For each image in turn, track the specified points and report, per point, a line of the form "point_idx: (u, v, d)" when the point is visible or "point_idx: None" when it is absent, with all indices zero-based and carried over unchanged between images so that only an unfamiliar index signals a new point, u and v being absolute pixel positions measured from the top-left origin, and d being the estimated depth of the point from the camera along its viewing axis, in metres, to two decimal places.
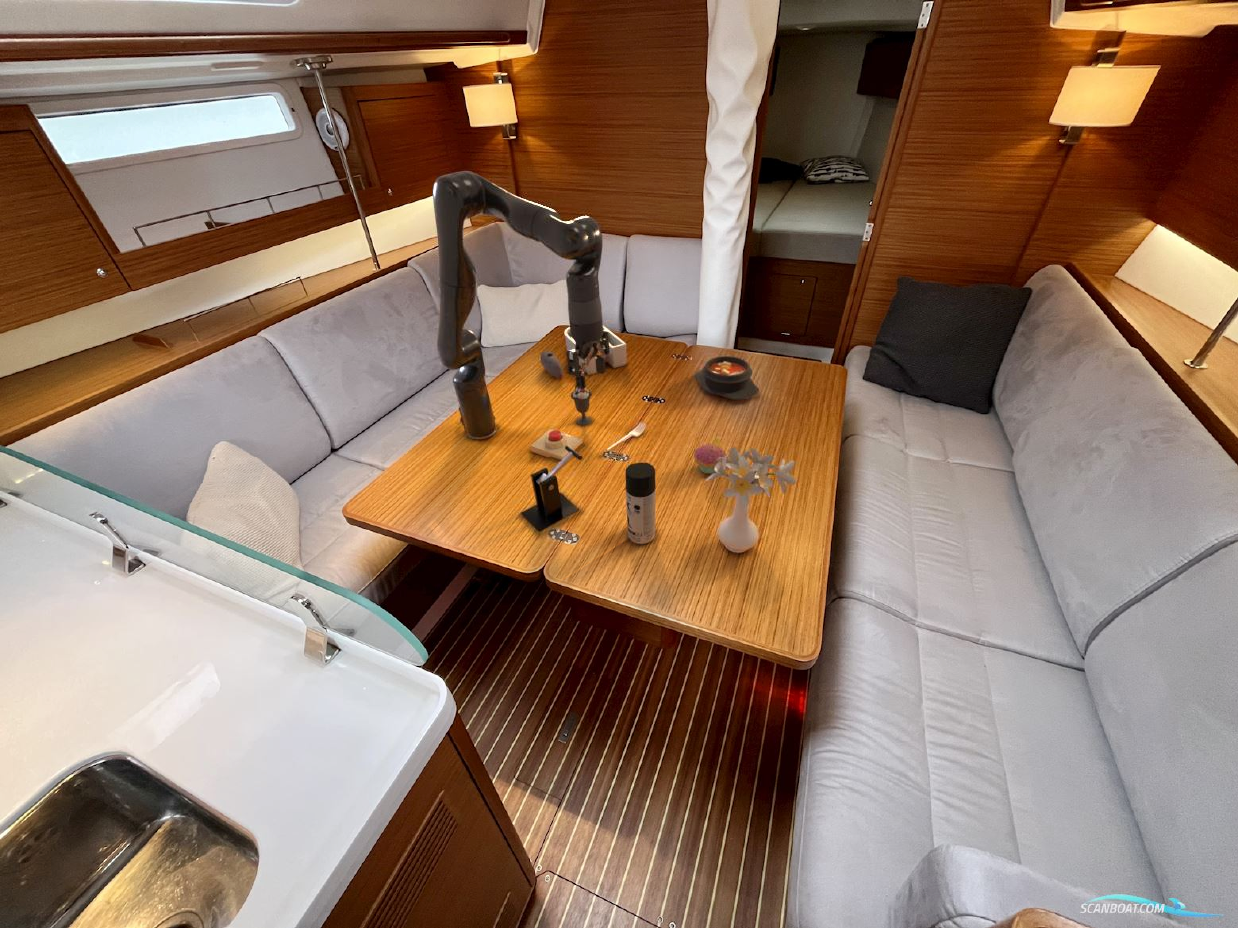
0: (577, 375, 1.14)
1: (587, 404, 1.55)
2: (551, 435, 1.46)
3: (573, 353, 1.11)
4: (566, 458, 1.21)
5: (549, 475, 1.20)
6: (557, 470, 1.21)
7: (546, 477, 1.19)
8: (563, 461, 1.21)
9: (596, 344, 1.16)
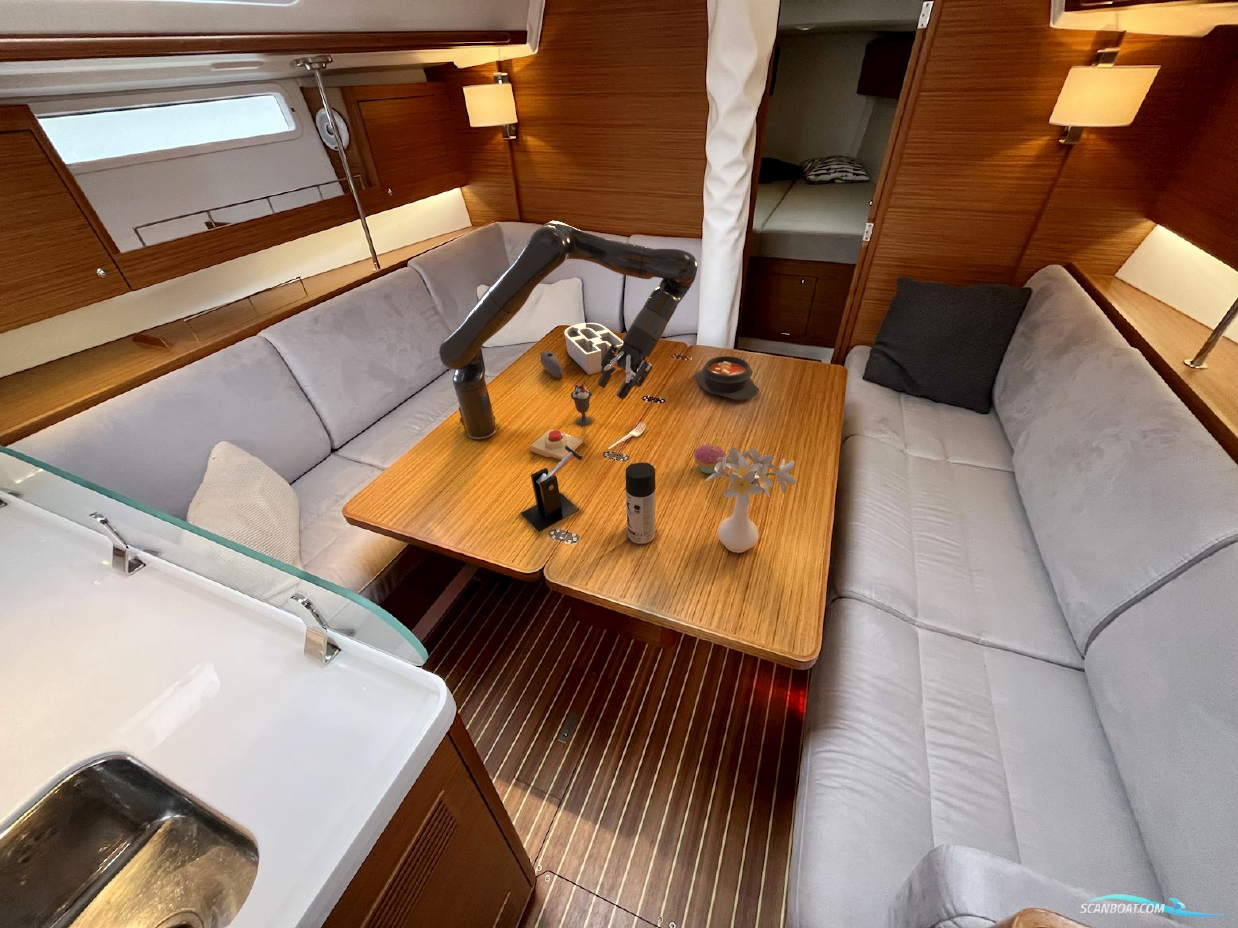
0: None
1: (587, 404, 1.55)
2: (551, 435, 1.46)
3: (651, 365, 1.15)
4: (566, 458, 1.21)
5: (549, 475, 1.20)
6: (557, 470, 1.21)
7: (546, 477, 1.19)
8: (563, 461, 1.21)
9: None
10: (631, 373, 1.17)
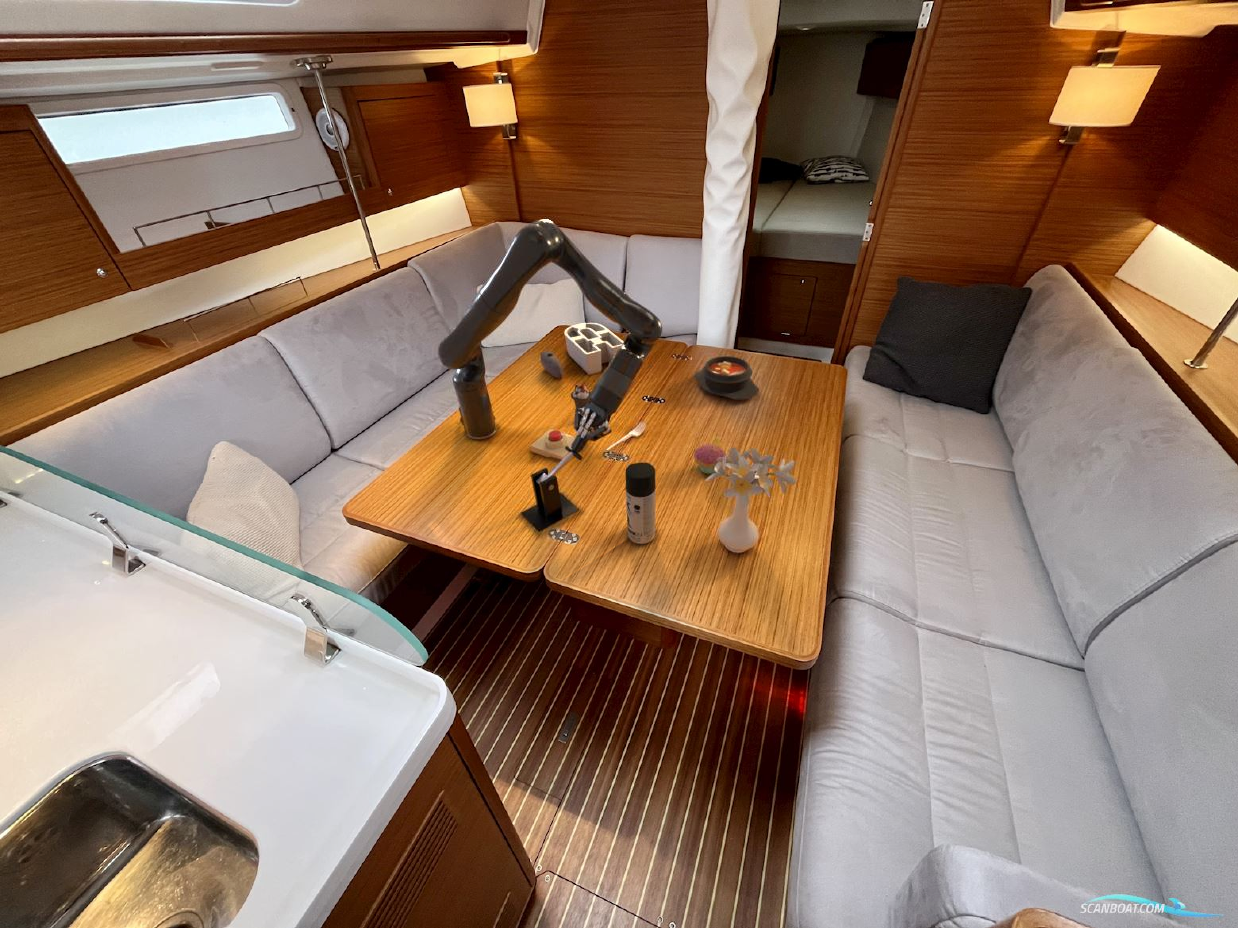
0: None
1: None
2: (551, 435, 1.46)
3: (609, 431, 1.18)
4: (566, 458, 1.21)
5: (549, 475, 1.20)
6: (557, 470, 1.21)
7: (546, 477, 1.19)
8: (563, 461, 1.21)
9: None
10: (589, 430, 1.20)
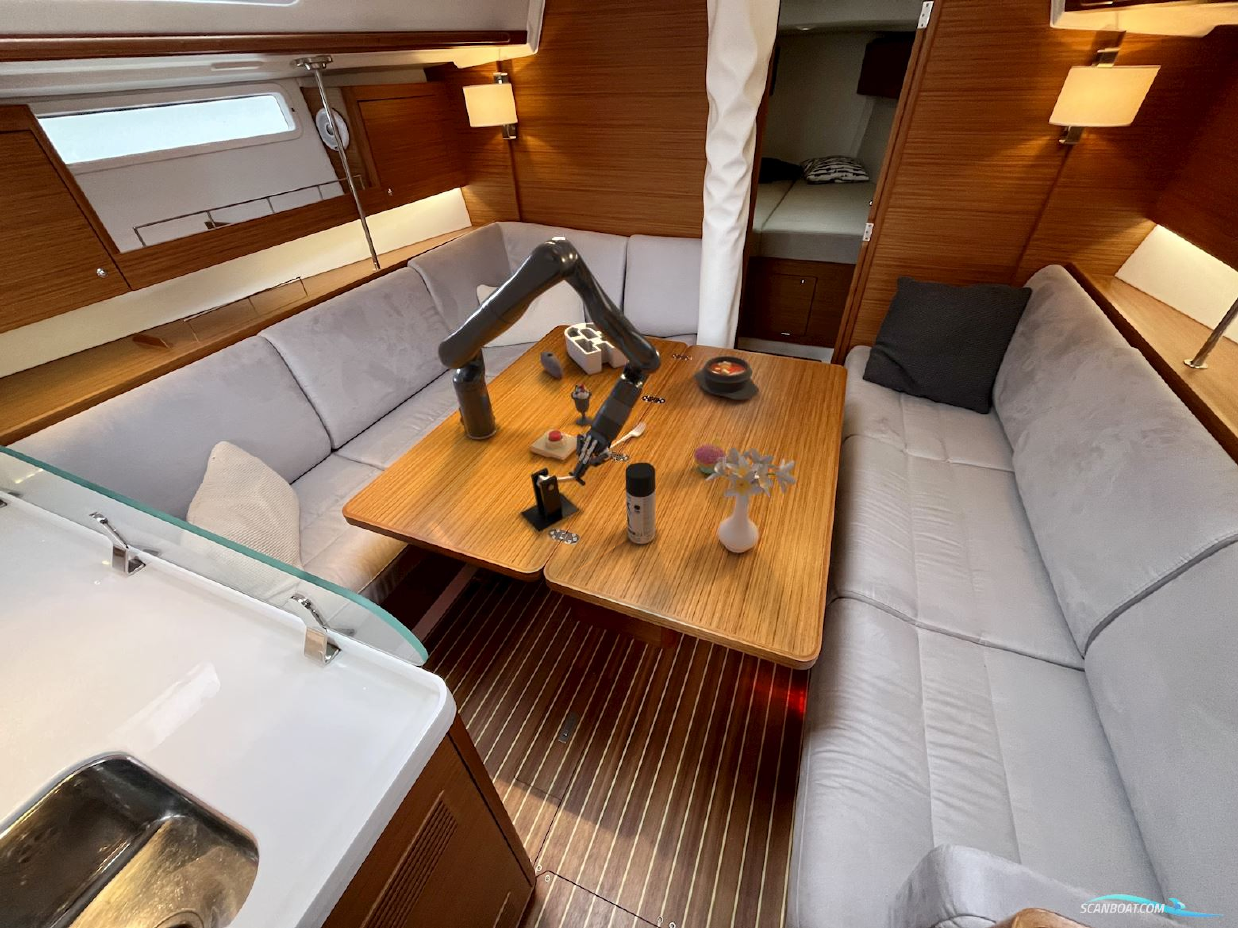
0: None
1: (587, 404, 1.55)
2: (551, 435, 1.46)
3: (610, 458, 1.22)
4: (570, 477, 1.25)
5: None
6: (559, 480, 1.23)
7: None
8: (567, 478, 1.25)
9: None
10: (590, 457, 1.24)
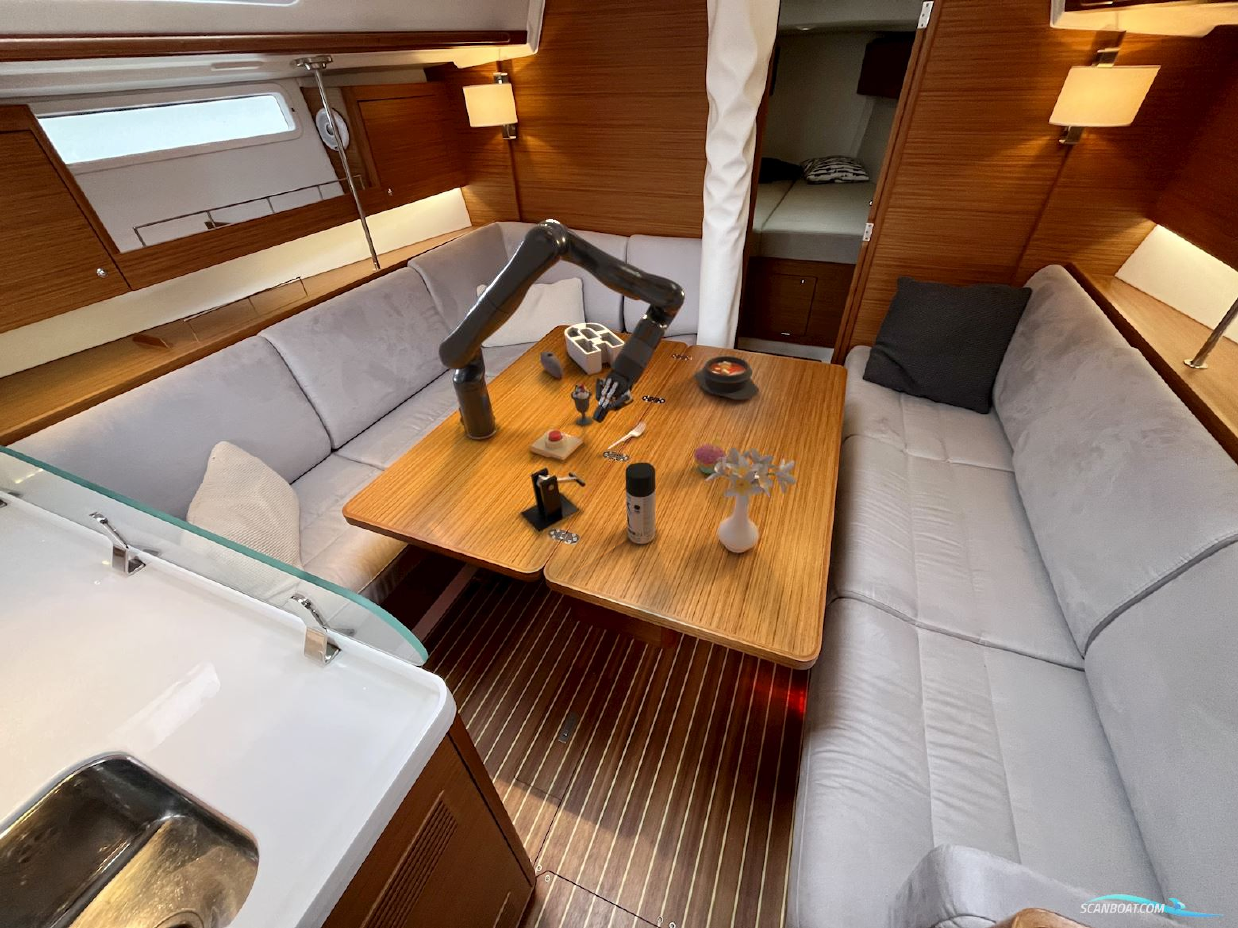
0: None
1: (587, 404, 1.55)
2: (551, 435, 1.46)
3: (632, 400, 1.18)
4: (570, 478, 1.25)
5: None
6: (559, 481, 1.23)
7: None
8: (567, 478, 1.25)
9: None
10: (611, 400, 1.20)
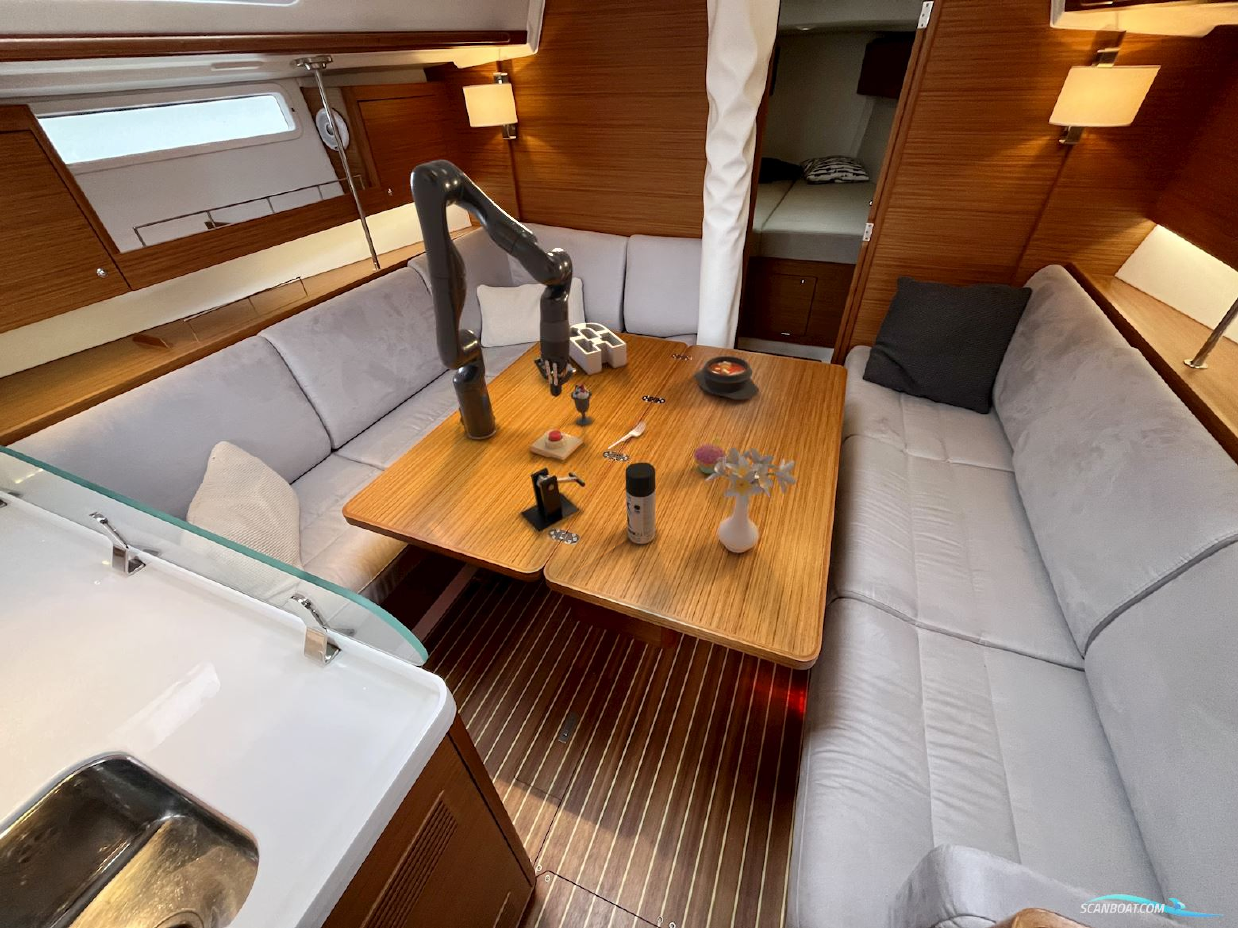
0: None
1: (587, 404, 1.55)
2: (551, 435, 1.46)
3: (575, 371, 1.29)
4: (570, 478, 1.25)
5: None
6: (559, 481, 1.23)
7: None
8: (567, 478, 1.25)
9: None
10: (558, 377, 1.31)
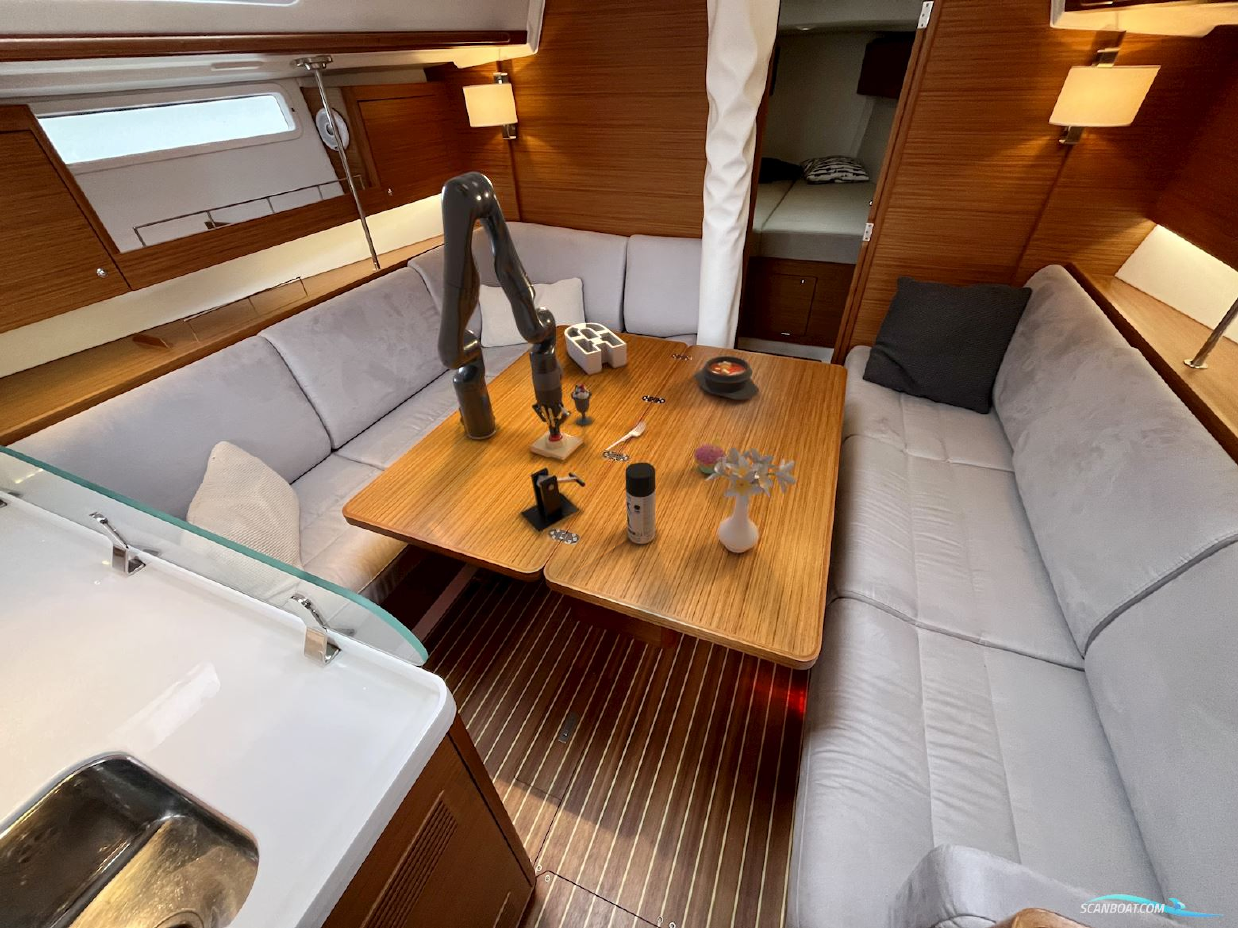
0: None
1: (587, 404, 1.55)
2: (551, 436, 1.46)
3: (569, 413, 1.39)
4: (570, 478, 1.25)
5: None
6: (559, 481, 1.23)
7: None
8: (567, 478, 1.25)
9: None
10: None
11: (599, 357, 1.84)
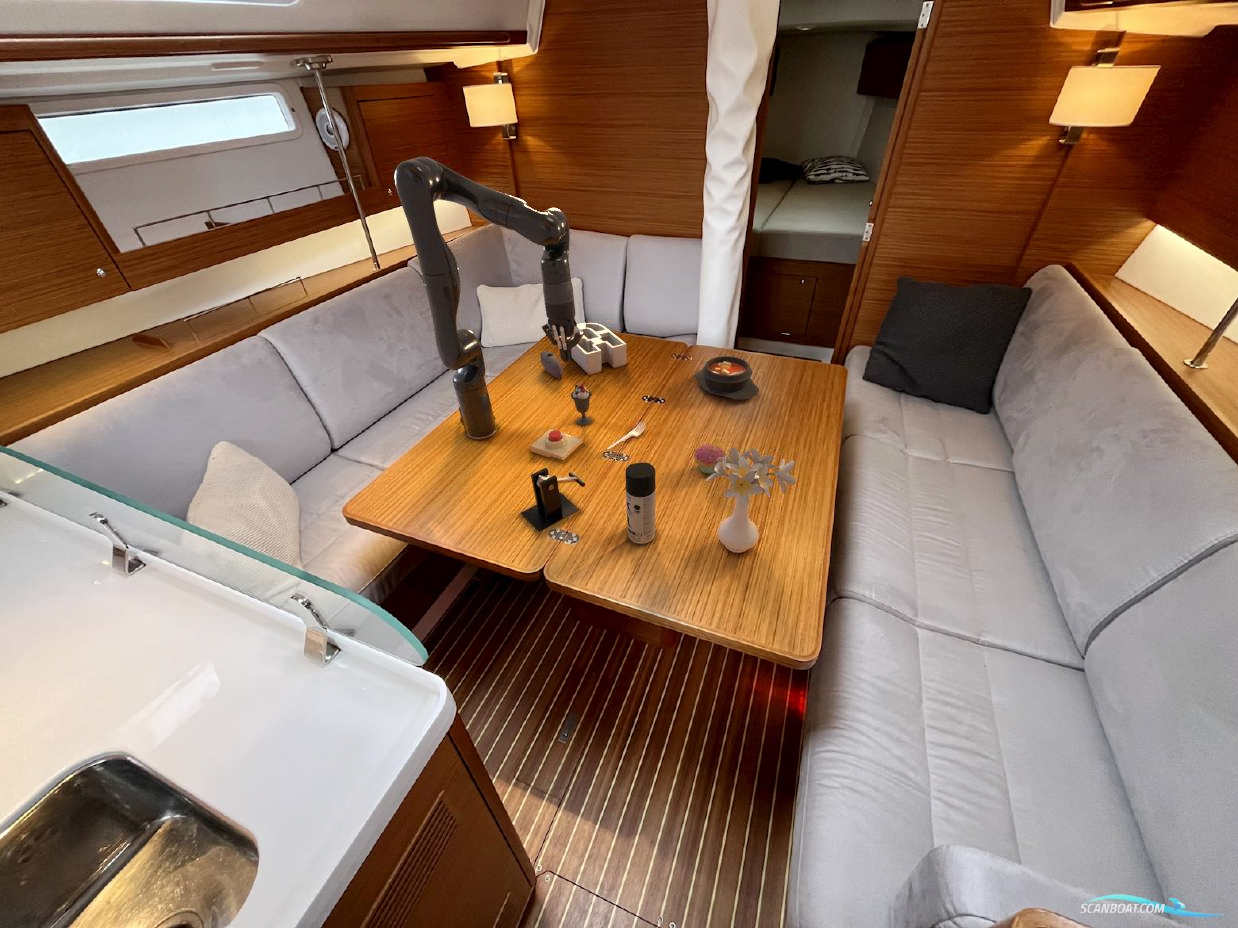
0: None
1: (587, 404, 1.55)
2: (551, 435, 1.46)
3: (583, 333, 1.28)
4: (570, 478, 1.25)
5: None
6: (559, 481, 1.23)
7: None
8: (567, 478, 1.25)
9: None
10: (567, 341, 1.31)
11: (599, 357, 1.84)
